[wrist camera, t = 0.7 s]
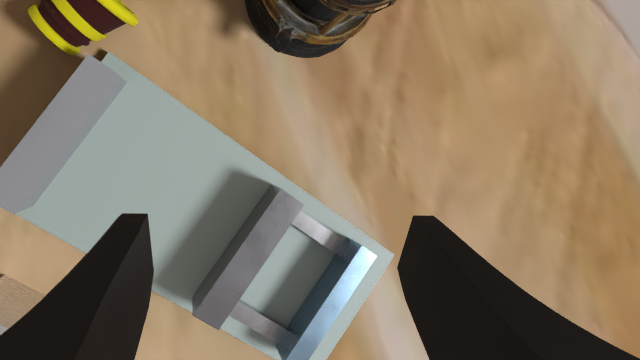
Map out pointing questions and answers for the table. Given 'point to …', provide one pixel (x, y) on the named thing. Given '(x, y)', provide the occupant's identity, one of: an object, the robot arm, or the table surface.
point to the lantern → (310, 23)
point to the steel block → (15, 301)
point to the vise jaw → (250, 255)
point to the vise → (169, 194)
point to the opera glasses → (79, 21)
